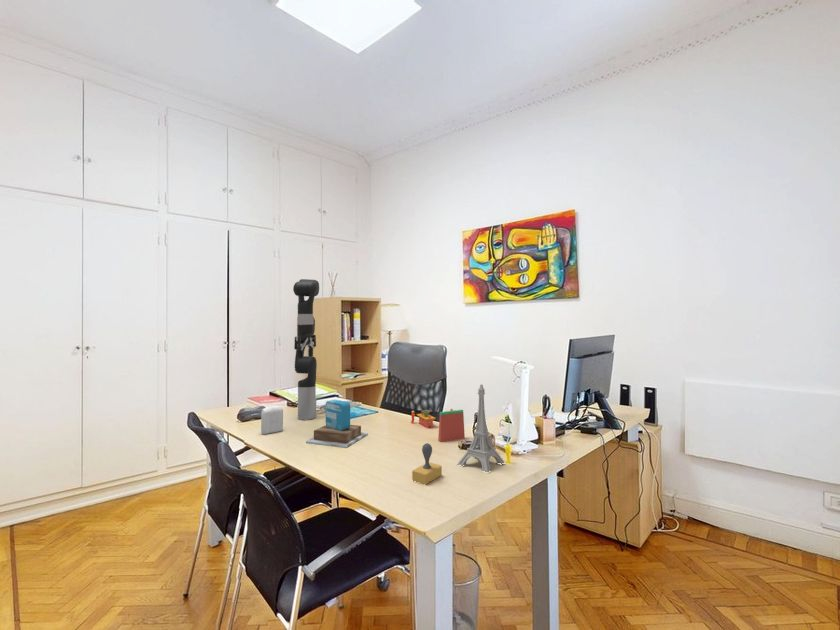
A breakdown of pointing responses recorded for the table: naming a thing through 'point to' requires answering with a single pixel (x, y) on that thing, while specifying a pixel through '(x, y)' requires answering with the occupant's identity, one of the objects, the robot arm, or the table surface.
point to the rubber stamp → (426, 468)
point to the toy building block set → (444, 424)
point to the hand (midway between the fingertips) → (305, 357)
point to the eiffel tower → (481, 440)
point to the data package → (338, 414)
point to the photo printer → (271, 419)
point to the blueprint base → (337, 436)
